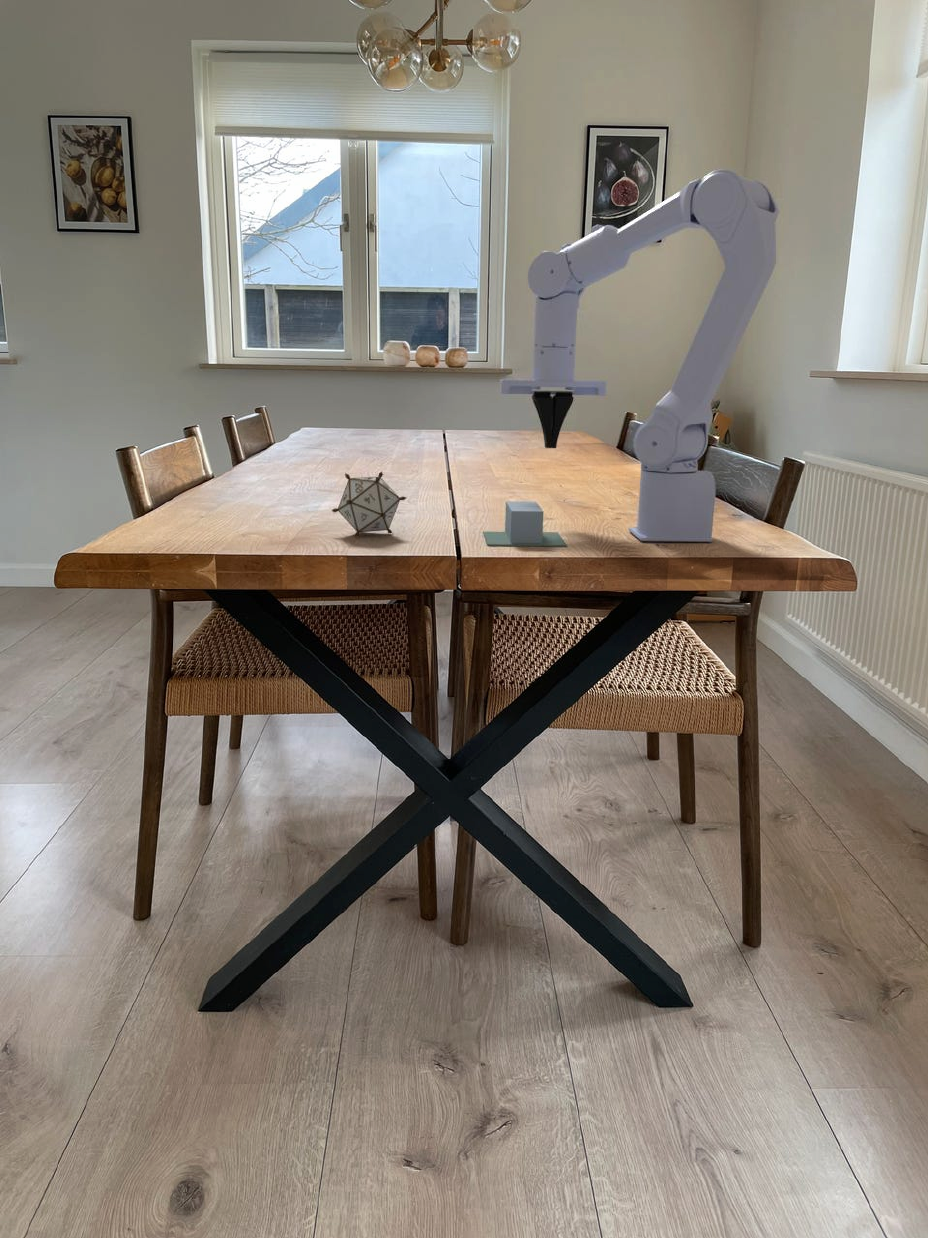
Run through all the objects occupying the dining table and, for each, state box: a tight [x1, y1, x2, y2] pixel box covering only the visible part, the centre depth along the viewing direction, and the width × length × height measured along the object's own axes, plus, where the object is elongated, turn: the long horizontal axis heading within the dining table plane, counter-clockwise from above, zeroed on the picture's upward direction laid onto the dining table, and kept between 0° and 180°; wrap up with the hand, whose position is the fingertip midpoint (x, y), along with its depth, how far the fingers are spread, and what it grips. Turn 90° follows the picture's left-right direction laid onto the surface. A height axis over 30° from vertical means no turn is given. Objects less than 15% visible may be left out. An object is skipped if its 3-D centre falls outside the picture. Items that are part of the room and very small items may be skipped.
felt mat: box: [482, 531, 568, 548], centre depth 122 cm, size 10×9×1 cm
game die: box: [331, 471, 407, 538], centre depth 122 cm, size 9×8×10 cm
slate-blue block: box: [504, 500, 544, 543], centre depth 122 cm, size 4×4×8 cm
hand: (550, 447), depth 133 cm, fingers closed
